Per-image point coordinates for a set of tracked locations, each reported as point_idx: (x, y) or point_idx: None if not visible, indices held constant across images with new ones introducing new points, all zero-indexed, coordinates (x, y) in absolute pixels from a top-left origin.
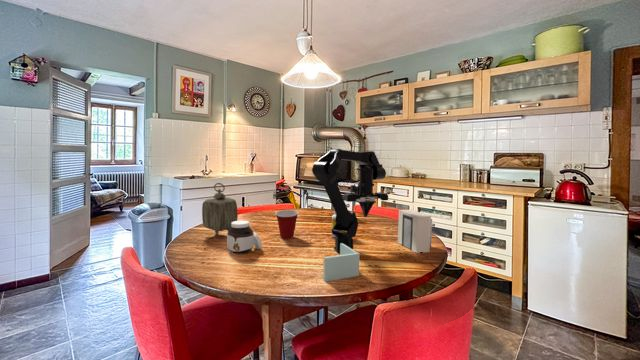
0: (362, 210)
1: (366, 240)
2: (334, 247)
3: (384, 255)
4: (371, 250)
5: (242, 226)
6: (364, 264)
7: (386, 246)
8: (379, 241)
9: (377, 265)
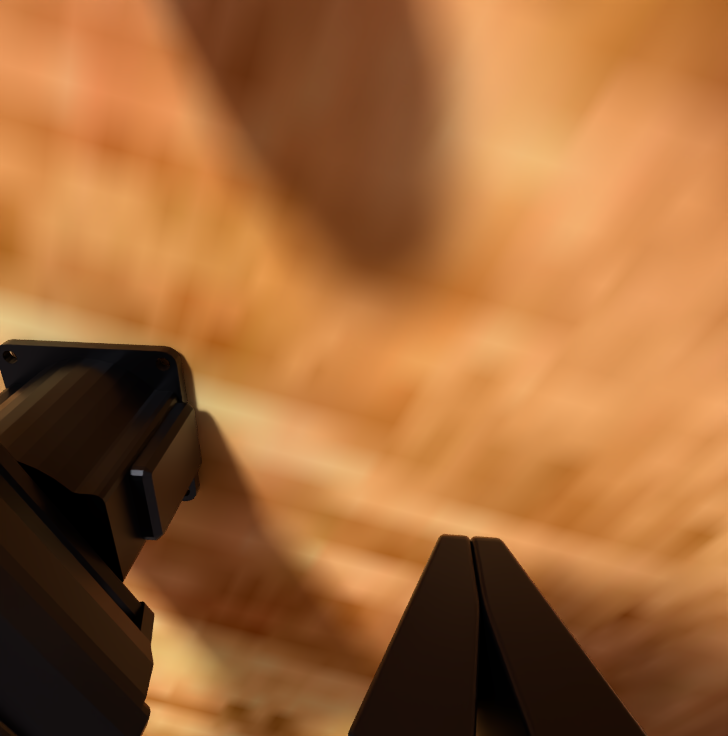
0: (369, 717)
1: (563, 115)
2: (6, 351)
3: None
4: (401, 489)
5: None
6: (206, 691)
7: (648, 430)
8: (721, 222)
9: (288, 723)
